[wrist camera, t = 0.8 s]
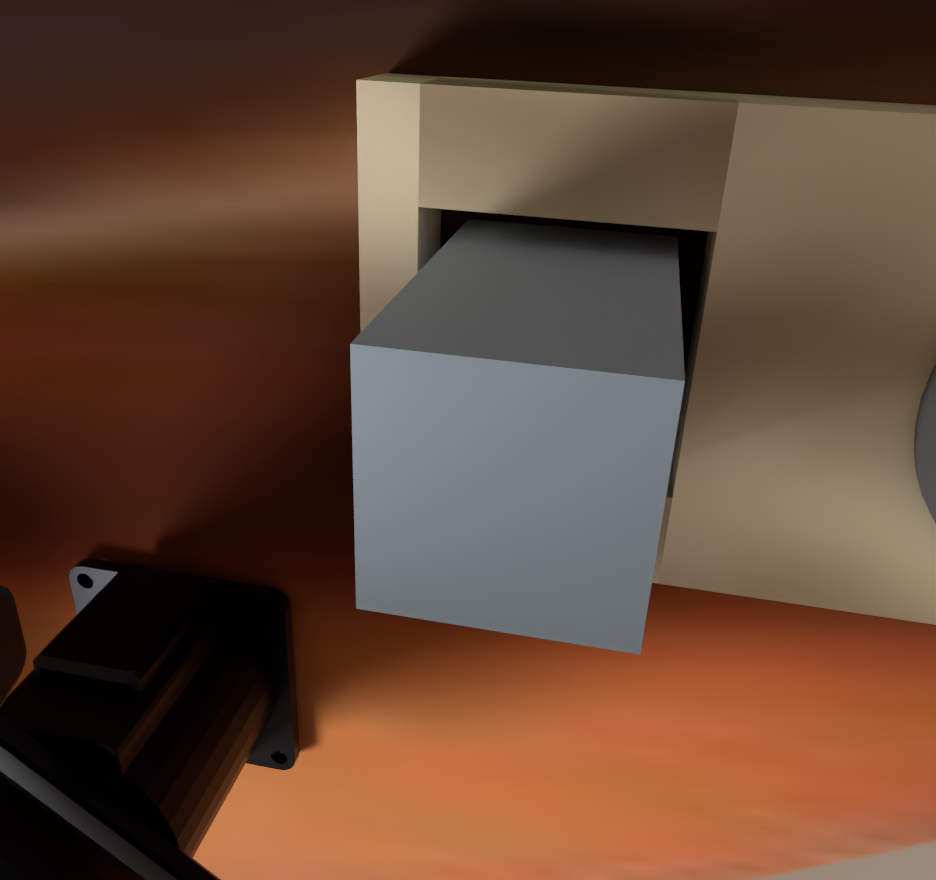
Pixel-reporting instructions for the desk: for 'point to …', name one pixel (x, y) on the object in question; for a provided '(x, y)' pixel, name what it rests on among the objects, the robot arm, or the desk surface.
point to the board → (720, 300)
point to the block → (520, 433)
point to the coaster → (927, 444)
